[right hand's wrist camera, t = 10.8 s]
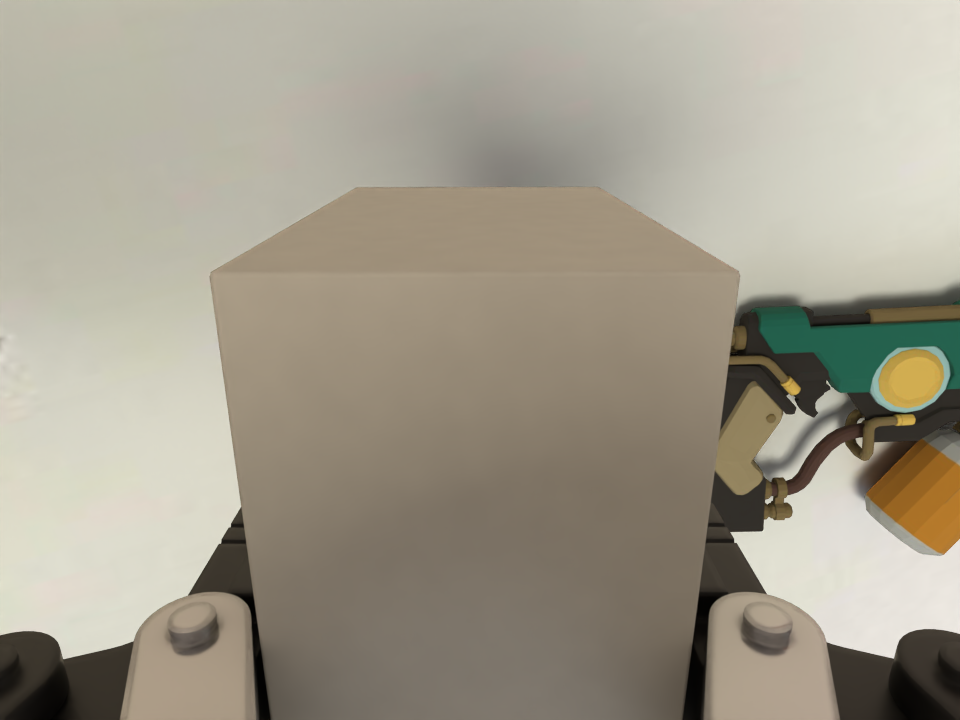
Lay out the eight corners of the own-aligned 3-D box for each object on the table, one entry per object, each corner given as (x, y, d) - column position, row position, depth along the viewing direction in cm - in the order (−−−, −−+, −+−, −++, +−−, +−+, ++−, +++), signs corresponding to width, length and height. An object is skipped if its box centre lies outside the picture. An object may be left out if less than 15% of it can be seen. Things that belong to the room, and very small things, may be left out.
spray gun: (642, 490, 37) (731, 217, 33) (940, 557, 37) (1069, 294, 33) (656, 532, 33) (760, 226, 29) (991, 607, 33) (1146, 314, 29)
